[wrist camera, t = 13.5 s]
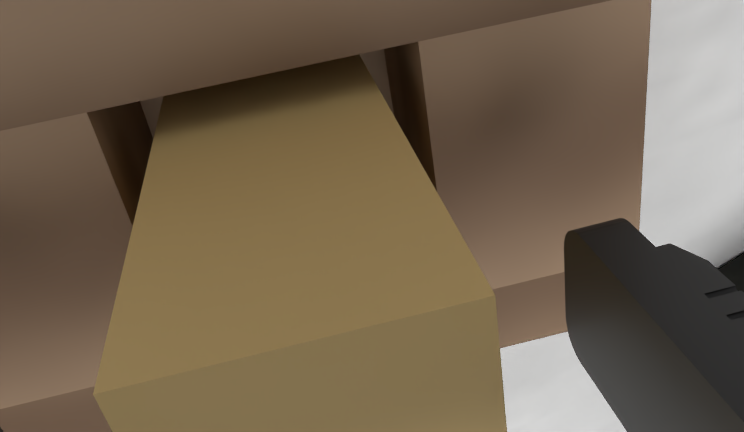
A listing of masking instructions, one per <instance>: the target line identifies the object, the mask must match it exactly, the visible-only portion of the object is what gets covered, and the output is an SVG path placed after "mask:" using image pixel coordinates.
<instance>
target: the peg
mask: <svg viewBox="0 0 744 432" xmlns="http://www.w3.org/2000/svg"><path fill="white" fill-rule="evenodd" d="M93 396H94V397H95V399H96V401H97V403H98V405H99V407H100V409H101V411H102V413H103V415H104V417H105V419H106V420H107V422H108V424H109V426H110V428H111V430H112V432H507V427H506V415H505V404H504V392H503V380H502V368H501V357H500V345H499V333H498V321H497V309H496V298H495V294H494V292H493V290H492V288H491V287H490V285H489V283H488V281H487V280H486V278H485V276H484V274H483V273H482V271H481V269H480V267H479V265H478V264H477V262H476V260H475V258H474V257H473V255H472V253H471V251H470V250H469V248H468V246H467V244H466V242H465V241H464V239H463V237H462V235H461V234H460V232H459V230H458V228H457V227H456V225H455V223H454V221H453V219H452V218H451V216H450V214H449V212H448V211H447V209H446V207H445V205H444V203H443V202H442V200H441V198H440V196H439V195H438V193H437V191H436V189H435V188H434V186H433V184H432V182H431V180H430V179H429V177H428V175H427V173H426V172H425V170H424V168H423V166H422V165H421V163H420V161H419V159H418V157H417V156H416V154H415V152H414V150H413V149H412V147H411V145H410V143H409V142H408V140H407V138H406V136H405V134H404V133H403V131H402V129H401V127H400V126H399V124H398V122H397V120H396V119H395V117H394V115H393V113H392V111H391V110H390V108H389V106H388V104H387V103H386V101H385V99H384V97H383V95H382V94H381V92H380V90H379V88H378V87H377V85H376V83H375V81H374V80H373V78H372V76H371V74H370V72H369V71H368V69H367V67H366V65H365V64H364V62H363V60H362V58H361V57H360V55H359V54H358V55H354V56H349V57H344V58H339V59H335V60H330V61H325V62H321V63H316V64H311V65H307V66H302V67H297V68H293V69H288V70H283V71H279V72H274V73H269V74H265V75H260V76H255V77H251V78H246V79H241V80H236V81H232V82H227V83H222V84H218V85H213V86H208V87H204V88H199V89H194V90H190V91H185V92H180V93H176V94H171V95H166V96H163V100H162V105H161V109H160V113H159V117H158V121H157V126H156V130H155V134H154V138H153V143H152V147H151V151H150V155H149V159H148V164H147V168H146V172H145V176H144V181H143V185H142V189H141V193H140V198H139V202H138V206H137V210H136V214H135V219H134V223H133V227H132V231H131V236H130V240H129V244H128V248H127V253H126V257H125V261H124V265H123V269H122V274H121V278H120V282H119V286H118V291H117V295H116V299H115V303H114V308H113V312H112V316H111V320H110V324H109V329H108V333H107V337H106V341H105V346H104V350H103V354H102V358H101V362H100V367H99V371H98V375H97V379H96V384H95V388H94V392H93Z"/></svg>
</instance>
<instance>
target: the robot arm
mask: <svg viewBox="0 0 744 432" xmlns="http://www.w3.org/2000/svg"><path fill="white" fill-rule="evenodd" d="M564 272H565V312H566V324H567V329H568V333H569V337H570V340H571V343H572V346H573V348H574V351H575V353H576V355H577V357H578V359H579V360H580V362H581V364H582V365H583V367H584V368H585V370H586V371H587V373H588V374H589V376H590V377H591V379H592V380H593V382H594V383H595V384H596V386H597V387H598V389H599V390H600V392H601V393H602V395H603V396H604V398H605V399H606V401H607V402H608V404H609V405H610V407H611V408H612V410H613V411H614V413H615V414H616V416H617V417H618V419H619V420H620V422H621V423H622V425H623V426H624V428H625V429H626V431H627V432H744V292H742V291H741V290H740V291H737V289H736V285H735V284H733V283H732V282H731V281H730V280H729V279H728V278H727V277H726V276H725V275H723V274H722V273H721V272H720V271H719V270H718V269H717V268H716V267H714V266H713V265H712V264H711V263H710V262H709V261H707V260H705V259H703V258H701V257H699V256H696V255H694V254H692V253H690V252H688V251H685V250H683V249H681V248H679V247H677V246H674V245H672V244H666V245H662V246H658V247H655V246H654V245H653V244H652V243H651V242H650V241H649V240H648V239H647V238H646V237H645V236H644V235H642V234H641V233H640V232H639V231H638V230H637V229H636V228H635V227H634V226H633V225H632V224H631V223H630V222H629V221H628V220H626V219H624V218H618V219H614V220H610V221H606V222H602V223H598V224H594V225H590V226H586V227H582V228H578V229H574V230H570V231H568V232H567V233H566V235H565V239H564ZM0 432H3V430H2V429H1V427H0Z"/></svg>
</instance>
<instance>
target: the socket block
mask: <svg viewBox="0 0 744 432" xmlns="http://www.w3.org/2000/svg"><path fill="white" fill-rule="evenodd" d="M650 18H651V0H0V427H1V429H2V430H3V432H112V430H111V428H110V426H109V424H108V422H107V420H106V419H105V417H104V415H103V413H102V411H101V409H100V407H99V405H98V403H97V401H96V399H95V397H94V396H93V392H94V388H95V384H96V379H97V375H98V371H99V367H100V362H101V358H102V354H103V350H104V346H105V341H106V337H107V333H108V329H109V324H110V320H111V316H112V312H113V308H114V303H115V299H116V295H117V291H118V286H119V282H120V278H121V274H122V269H123V265H124V261H125V257H126V253H127V248H128V244H129V240H130V236H131V231H132V227H133V223H134V219H135V214H136V210H137V206H138V202H139V198H140V193H141V189H142V185H143V181H144V176H145V172H146V168H147V164H148V159H149V155H150V151H151V147H152V143H153V138H154V134H155V130H156V126H157V121H158V117H159V113H160V109H161V105H162V100H163V96H166V95H171V94H176V93H180V92H185V91H190V90H194V89H199V88H204V87H208V86H213V85H218V84H222V83H227V82H232V81H236V80H241V79H246V78H251V77H255V76H260V75H265V74H269V73H274V72H279V71H283V70H288V69H293V68H297V67H302V66H307V65H311V64H316V63H321V62H325V61H330V60H335V59H339V58H344V57H349V56H354V55H358V54H359V55H360V57H361V58H362V60H363V62H364V64H365V65H366V67H367V69H368V71H369V72H370V74H371V76H372V78H373V80H374V81H375V83H376V85H377V87H378V88H379V90H380V92H381V94H382V95H383V97H384V99H385V101H386V103H387V104H388V106H389V108H390V110H391V111H392V113H393V115H394V117H395V119H396V120H397V122H398V124H399V126H400V127H401V129H402V131H403V133H404V134H405V136H406V138H407V140H408V142H409V143H410V145H411V147H412V149H413V150H414V152H415V154H416V156H417V157H418V159H419V161H420V163H421V165H422V166H423V168H424V170H425V172H426V173H427V175H428V177H429V179H430V180H431V182H432V184H433V186H434V188H435V189H436V191H437V193H438V195H439V196H440V198H441V200H442V202H443V203H444V205H445V207H446V209H447V211H448V212H449V214H450V216H451V218H452V219H453V221H454V223H455V225H456V227H457V228H458V230H459V232H460V234H461V235H462V237H463V239H464V241H465V242H466V244H467V246H468V248H469V250H470V251H471V253H472V255H473V257H474V258H475V260H476V262H477V264H478V265H479V267H480V269H481V271H482V273H483V274H484V276H485V278H486V280H487V281H488V283H489V285H490V287H491V288H492V290H493V292H494V294H495V298H496V309H497V321H498V333H499V345H500V348H503V347H507V346H511V345H515V344H519V343H523V342H527V341H531V340H535V339H539V338H543V337H547V336H551V335H555V334H559V333H563V332H567V331H568V329H567V324H566V312H565V272H564V239H565V235H566V233H567V232H568V231H570V230H574V229H578V228H582V227H586V226H590V225H594V224H598V223H602V222H606V221H610V220H614V219H618V218H624V219H626V220H628V221H629V222H630V223H631V224H632V225H633V226H634V227H635V228H636V229H637V230H638V231H639V223H640V205H641V186H642V167H643V148H644V130H645V111H646V92H647V74H648V55H649V36H650Z"/></svg>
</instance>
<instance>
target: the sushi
mask: <svg viewBox="0 0 744 432" xmlns="http://www.w3.org/2000/svg"><path fill="white" fill-rule="evenodd" d="M718 270H719V271H720V272H721V273H722V274H723V275H725V276H726V277H727V278H728V279H729V280H730V281H731V282H732V283H733V284H735V285H736V289H737V291H740V290H741V291H742V292H744V254H742V255H740V256H739V257H737V258H736V259H734V260H732V261H731V262H729V263H728V264H726V265H725V266H723V267H721V268H720V269H718Z"/></svg>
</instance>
